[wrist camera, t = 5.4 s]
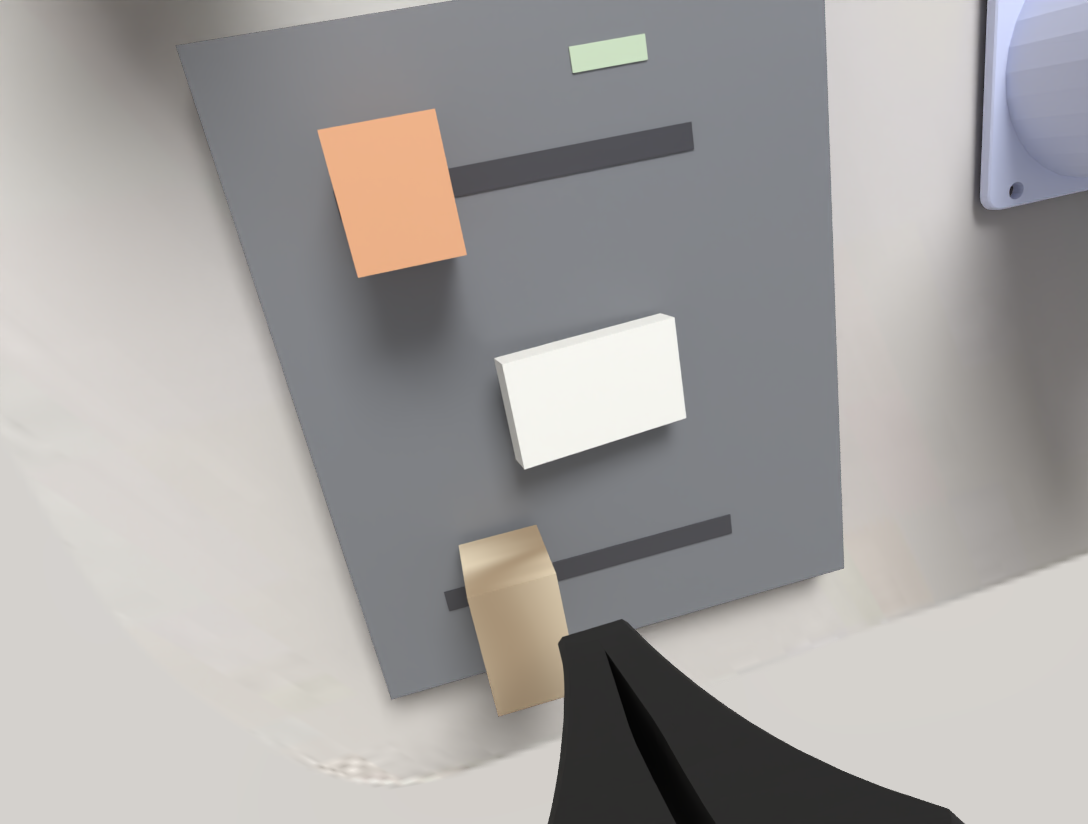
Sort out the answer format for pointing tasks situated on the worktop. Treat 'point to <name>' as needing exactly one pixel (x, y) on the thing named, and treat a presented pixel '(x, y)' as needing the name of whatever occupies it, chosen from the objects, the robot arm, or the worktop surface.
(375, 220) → the peach slider
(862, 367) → the worktop surface
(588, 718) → the robot arm
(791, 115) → the switch panel
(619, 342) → the off-white rocker
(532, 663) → the tan cardboard carton
